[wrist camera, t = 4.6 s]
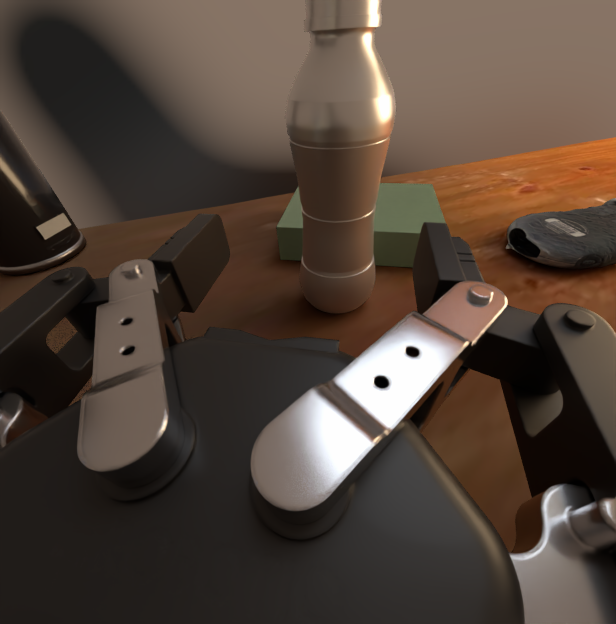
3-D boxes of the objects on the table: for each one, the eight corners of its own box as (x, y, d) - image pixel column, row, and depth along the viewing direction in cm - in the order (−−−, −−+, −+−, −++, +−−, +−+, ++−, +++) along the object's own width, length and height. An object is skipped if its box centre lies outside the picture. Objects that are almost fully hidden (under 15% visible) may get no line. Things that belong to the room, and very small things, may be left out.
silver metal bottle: (386, 308, 26) (452, -38, 12) (319, 333, 24) (307, -40, 10) (350, 271, 30) (368, -14, 17) (290, 290, 28) (255, -13, 15)
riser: (280, 259, 33) (276, 226, 30) (302, 210, 42) (300, 181, 39) (438, 269, 30) (449, 234, 27) (424, 214, 39) (432, 183, 36)
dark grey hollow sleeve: (578, 227, 37) (485, 231, 34) (618, 185, 33) (516, 184, 29) (648, 276, 32) (544, 287, 28) (707, 232, 27) (594, 239, 24)
